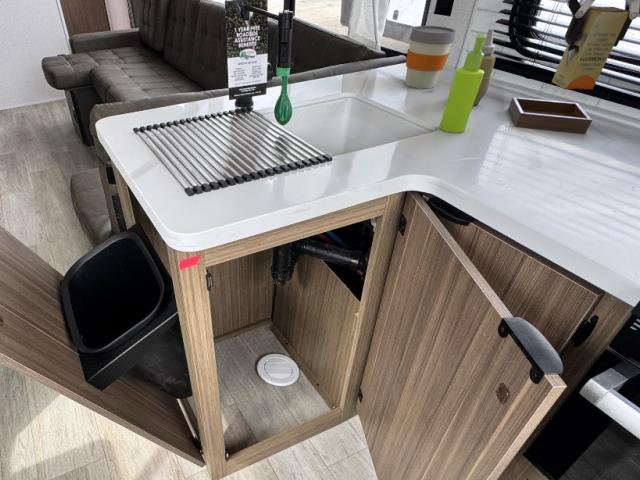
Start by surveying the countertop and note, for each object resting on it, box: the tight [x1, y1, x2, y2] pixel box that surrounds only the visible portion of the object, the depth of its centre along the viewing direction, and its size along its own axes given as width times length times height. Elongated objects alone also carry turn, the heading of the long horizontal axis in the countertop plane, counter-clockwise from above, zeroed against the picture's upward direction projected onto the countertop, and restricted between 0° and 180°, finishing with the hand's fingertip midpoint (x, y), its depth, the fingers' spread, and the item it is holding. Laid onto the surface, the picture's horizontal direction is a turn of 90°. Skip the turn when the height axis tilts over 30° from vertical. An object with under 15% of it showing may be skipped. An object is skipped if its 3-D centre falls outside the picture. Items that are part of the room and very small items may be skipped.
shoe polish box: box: [551, 6, 630, 90], centre depth 77 cm, size 5×5×12 cm
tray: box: [507, 96, 593, 135], centre depth 111 cm, size 16×14×3 cm
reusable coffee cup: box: [404, 25, 457, 89], centre depth 132 cm, size 13×13×15 cm
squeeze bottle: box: [473, 28, 496, 106], centre depth 117 cm, size 8×8×18 cm
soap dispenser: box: [439, 33, 486, 134], centre depth 101 cm, size 6×7×20 cm
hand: (590, 43), depth 77 cm, fingers closed on shoe polish box, 5 cm apart
